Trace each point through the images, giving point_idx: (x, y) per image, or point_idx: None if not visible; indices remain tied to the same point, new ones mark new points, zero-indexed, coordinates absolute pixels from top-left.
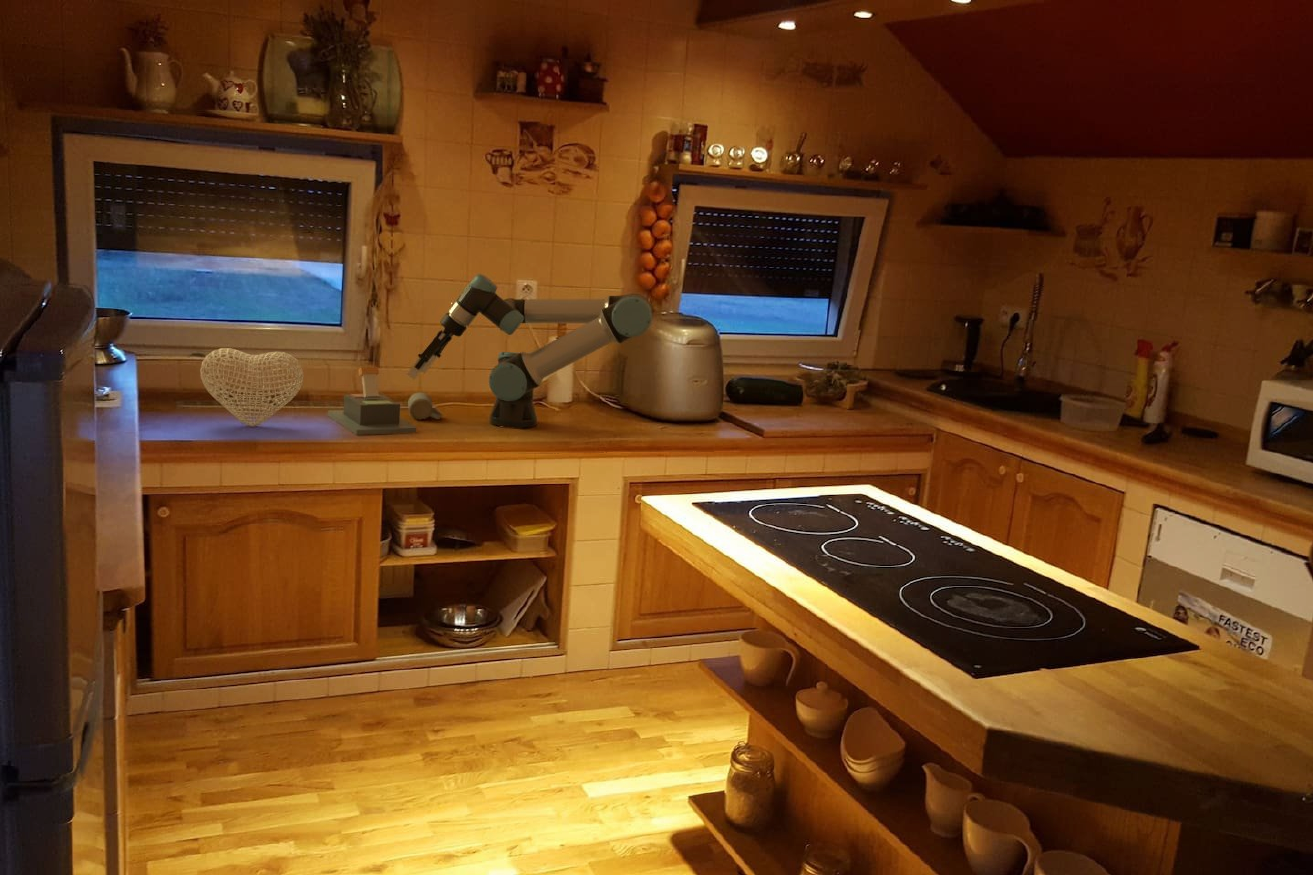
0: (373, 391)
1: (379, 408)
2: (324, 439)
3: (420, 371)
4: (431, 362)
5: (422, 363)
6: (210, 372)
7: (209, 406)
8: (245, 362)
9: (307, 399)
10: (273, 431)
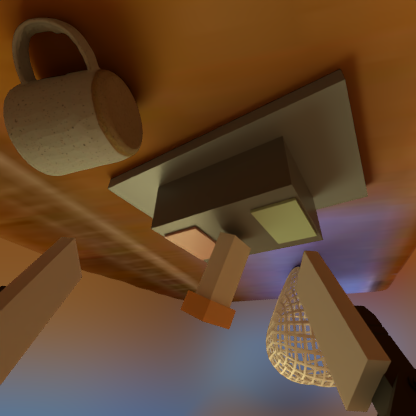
0: (236, 253)
1: (308, 208)
2: (398, 215)
3: (328, 287)
4: (24, 295)
5: (401, 359)
6: None
7: None
8: (273, 355)
9: (95, 258)
10: (327, 255)
